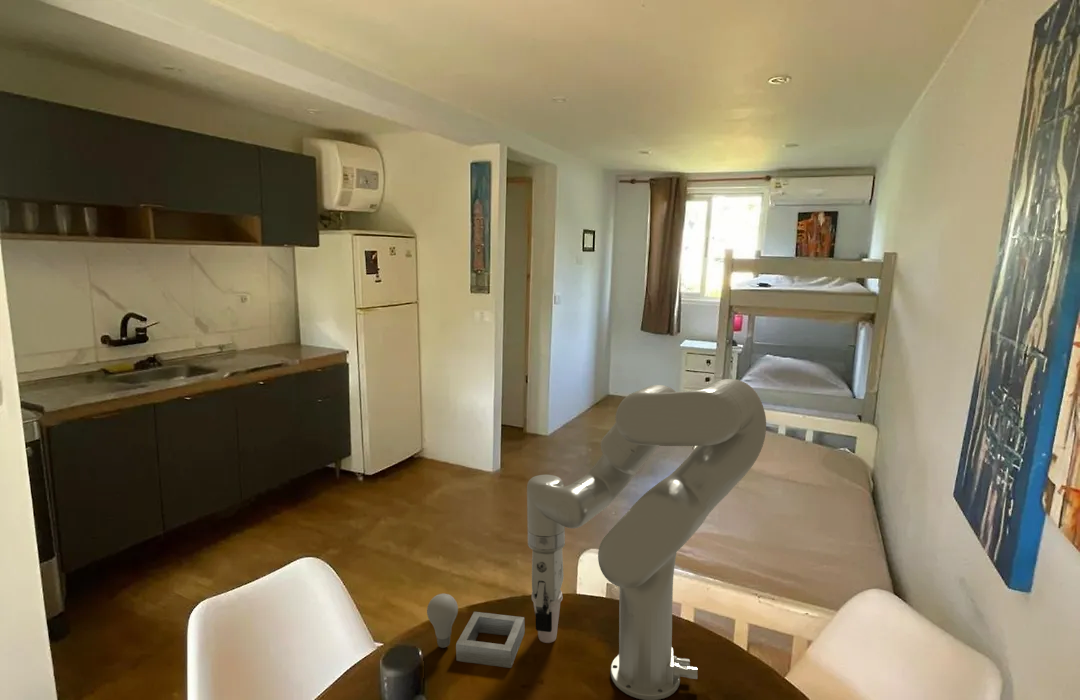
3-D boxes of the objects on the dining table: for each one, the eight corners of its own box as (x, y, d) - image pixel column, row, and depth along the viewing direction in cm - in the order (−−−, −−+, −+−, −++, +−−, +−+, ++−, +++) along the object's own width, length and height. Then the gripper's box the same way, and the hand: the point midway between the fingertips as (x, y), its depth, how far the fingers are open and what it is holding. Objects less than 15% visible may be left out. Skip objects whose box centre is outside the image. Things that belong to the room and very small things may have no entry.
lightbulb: (452, 658, 109) (451, 605, 108) (423, 654, 111) (421, 602, 109) (463, 639, 115) (461, 589, 114) (435, 635, 117) (433, 586, 115)
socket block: (524, 632, 117) (524, 617, 117) (511, 668, 106) (510, 651, 106) (474, 626, 119) (474, 611, 119) (456, 660, 109) (455, 644, 108)
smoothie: (538, 625, 120) (537, 563, 118) (567, 631, 117) (566, 568, 116) (527, 643, 114) (526, 578, 112) (556, 650, 112) (556, 584, 110)
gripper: (556, 559, 104) (557, 649, 106) (571, 520, 121) (571, 598, 123) (517, 555, 105) (519, 644, 108) (537, 518, 122) (538, 595, 124)
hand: (547, 619), depth 115 cm, fingers closed on smoothie, 6 cm apart
